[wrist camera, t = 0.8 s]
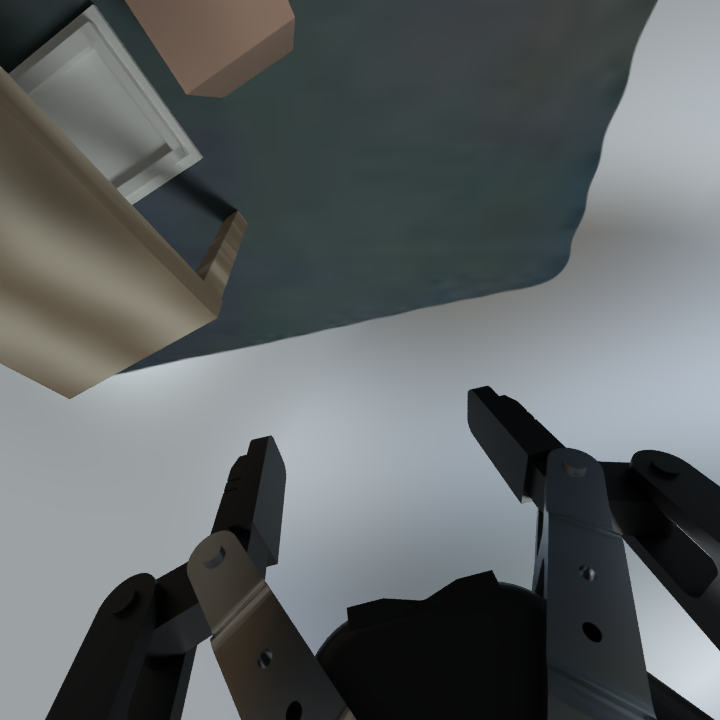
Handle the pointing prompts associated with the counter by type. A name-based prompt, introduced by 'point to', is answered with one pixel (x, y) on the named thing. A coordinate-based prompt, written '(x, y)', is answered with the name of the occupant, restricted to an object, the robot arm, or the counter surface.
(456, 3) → the counter surface
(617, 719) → the robot arm
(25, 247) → the small wooden table
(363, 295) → the counter surface
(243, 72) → the plain brown box
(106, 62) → the tray
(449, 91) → the counter surface
